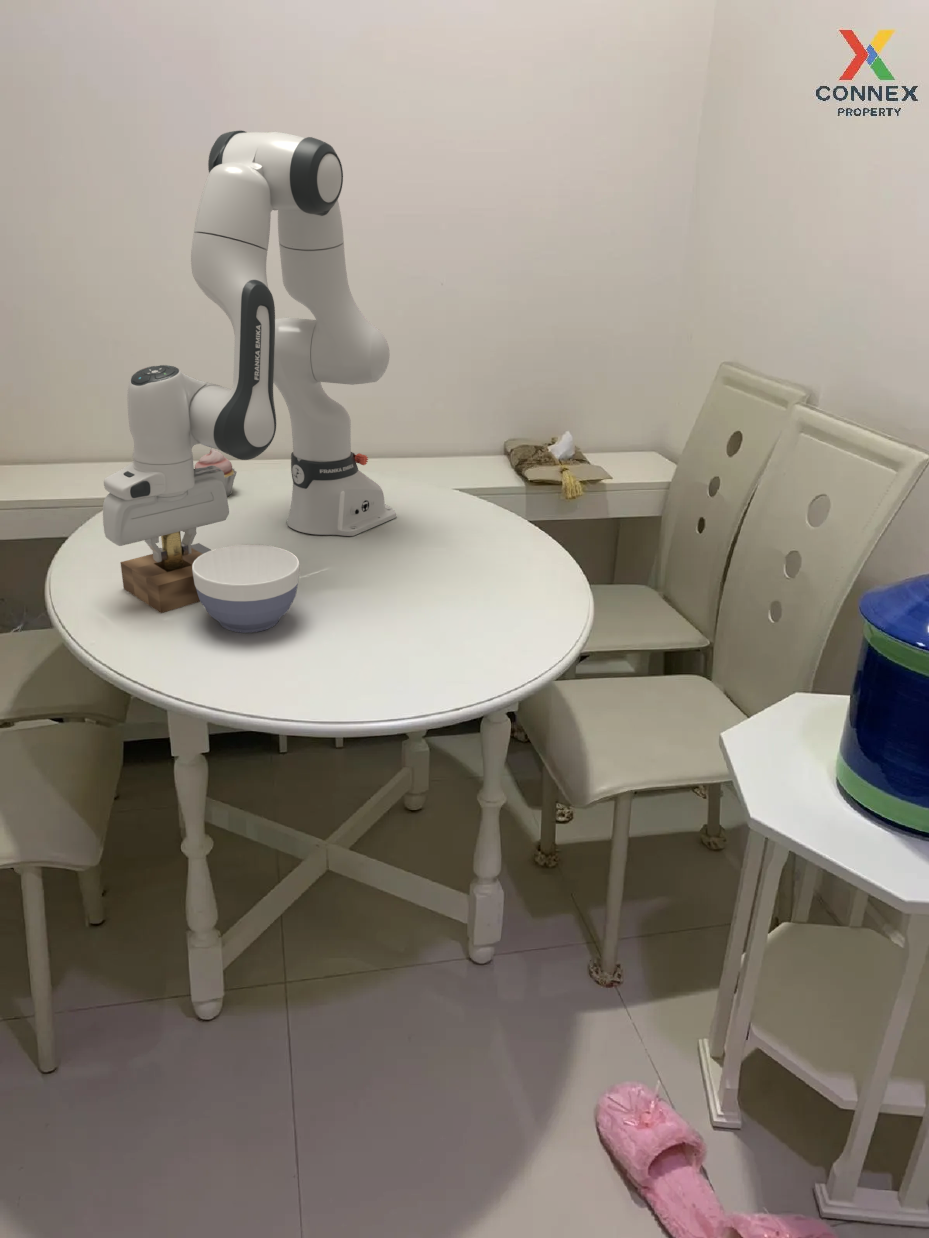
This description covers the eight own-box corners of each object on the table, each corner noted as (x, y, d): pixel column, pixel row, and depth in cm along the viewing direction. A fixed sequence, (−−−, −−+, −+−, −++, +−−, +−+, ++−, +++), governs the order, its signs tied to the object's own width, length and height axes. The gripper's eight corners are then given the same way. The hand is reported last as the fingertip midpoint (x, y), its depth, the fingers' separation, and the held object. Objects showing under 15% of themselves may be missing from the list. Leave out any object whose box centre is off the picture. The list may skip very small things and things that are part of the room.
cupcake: (193, 487, 200) (189, 442, 196) (237, 486, 202) (235, 441, 198) (192, 501, 192) (188, 455, 188) (238, 500, 194) (235, 454, 190)
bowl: (213, 595, 152) (208, 541, 148) (309, 601, 152) (308, 547, 147) (183, 640, 138) (177, 581, 133) (289, 646, 137) (287, 587, 133)
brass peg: (178, 573, 153) (172, 516, 148) (188, 579, 151) (182, 521, 147) (162, 578, 151) (155, 520, 146) (171, 583, 149) (165, 525, 145)
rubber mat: (199, 544, 171) (198, 543, 171) (222, 557, 166) (222, 555, 166) (149, 557, 165) (149, 555, 164) (172, 571, 160) (172, 569, 160)
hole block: (189, 572, 160) (186, 545, 158) (227, 594, 152) (225, 566, 150) (123, 590, 152) (120, 562, 150) (161, 614, 145) (158, 585, 142)
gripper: (212, 458, 152) (218, 537, 158) (92, 481, 139) (104, 566, 145) (233, 467, 148) (238, 548, 154) (113, 492, 135) (123, 579, 141)
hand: (172, 557), depth 149 cm, fingers closed on brass peg, 3 cm apart
